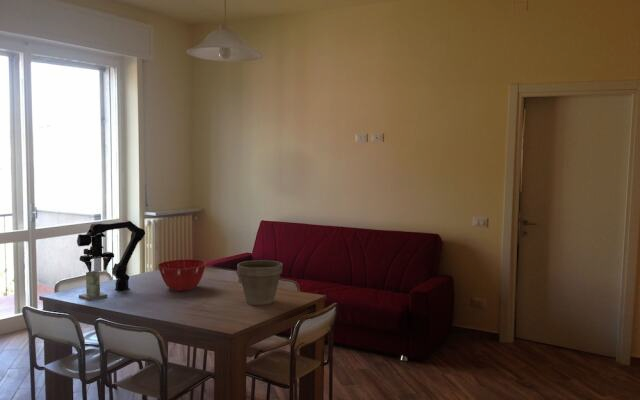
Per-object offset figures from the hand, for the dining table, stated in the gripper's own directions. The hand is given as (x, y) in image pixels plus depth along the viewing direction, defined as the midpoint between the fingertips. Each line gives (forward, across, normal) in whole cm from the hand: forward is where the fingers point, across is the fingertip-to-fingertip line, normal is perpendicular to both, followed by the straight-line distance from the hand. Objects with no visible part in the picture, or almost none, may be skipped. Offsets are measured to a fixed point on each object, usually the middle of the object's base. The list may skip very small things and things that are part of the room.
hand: (97, 271), depth 322 cm
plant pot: (+13, -46, +87) cm, 99 cm away
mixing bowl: (+13, -39, +28) cm, 50 cm away
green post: (+11, +7, +7) cm, 15 cm away
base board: (+13, +7, +7) cm, 16 cm away
